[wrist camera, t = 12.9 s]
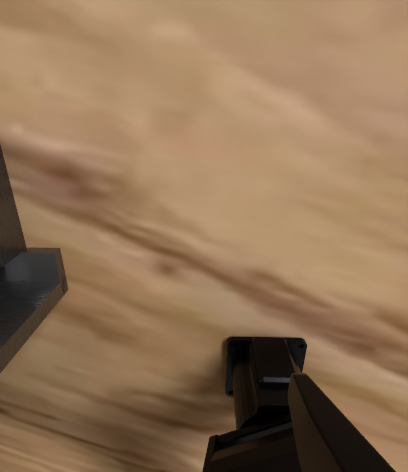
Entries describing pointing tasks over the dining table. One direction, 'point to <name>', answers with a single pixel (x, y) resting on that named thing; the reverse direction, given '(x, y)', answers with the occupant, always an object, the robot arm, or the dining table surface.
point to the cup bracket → (23, 278)
